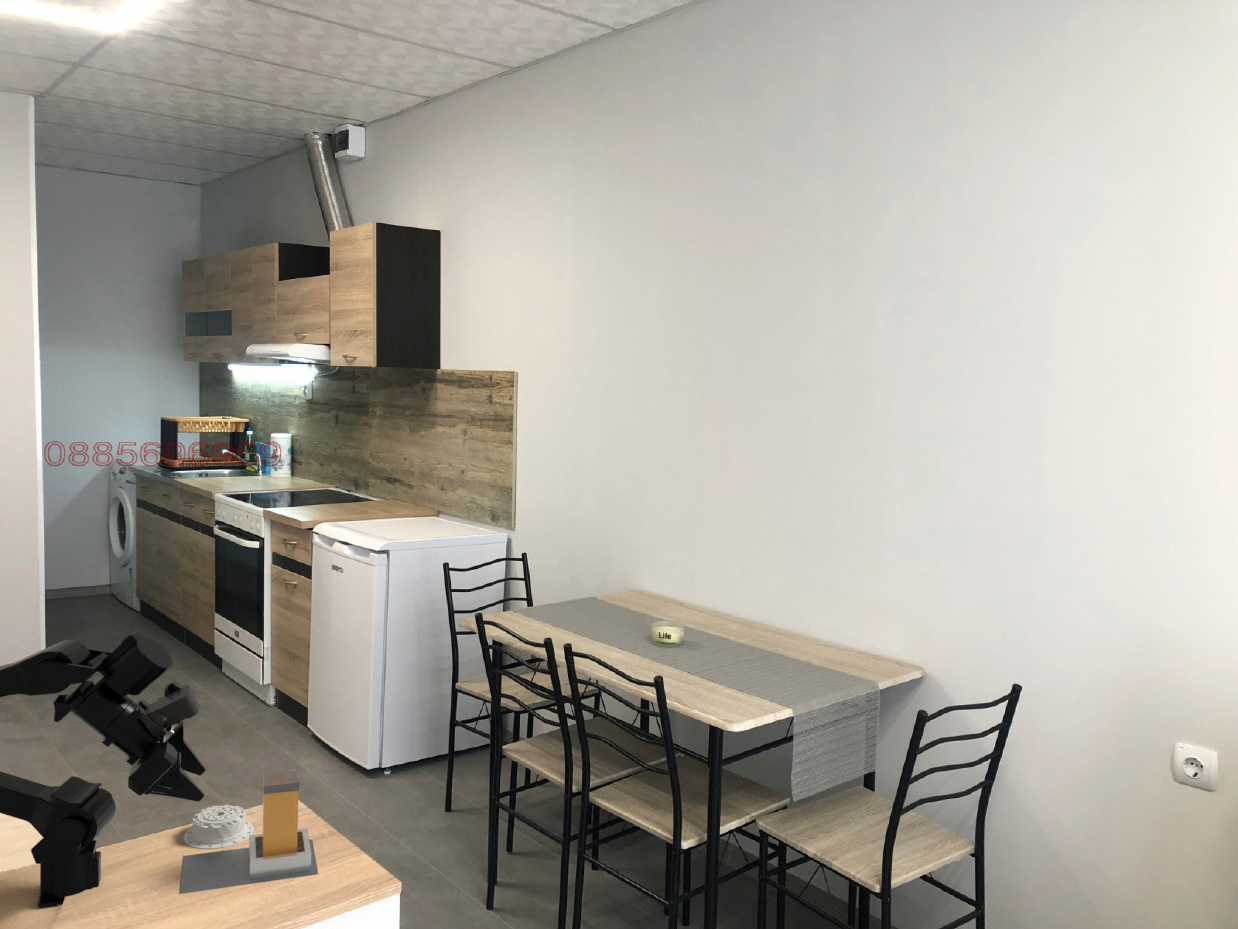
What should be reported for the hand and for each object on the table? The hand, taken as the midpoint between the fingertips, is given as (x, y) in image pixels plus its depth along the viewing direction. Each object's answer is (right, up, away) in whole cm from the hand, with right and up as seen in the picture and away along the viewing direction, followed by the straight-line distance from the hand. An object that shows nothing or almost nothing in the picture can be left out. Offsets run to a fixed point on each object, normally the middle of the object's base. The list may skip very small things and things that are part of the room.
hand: (202, 785), depth 133 cm
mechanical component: (-3, -13, +12) cm, 18 cm away
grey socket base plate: (+5, -14, +3) cm, 15 cm away
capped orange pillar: (+9, -13, +5) cm, 16 cm away
